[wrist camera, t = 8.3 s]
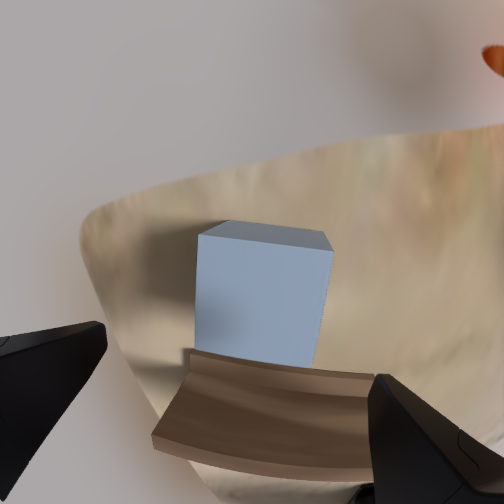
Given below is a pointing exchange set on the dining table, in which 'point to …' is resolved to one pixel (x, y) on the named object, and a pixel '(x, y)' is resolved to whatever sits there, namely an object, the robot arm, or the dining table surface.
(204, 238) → the letter cube
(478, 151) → the dining table surface
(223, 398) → the wooden l bracket
